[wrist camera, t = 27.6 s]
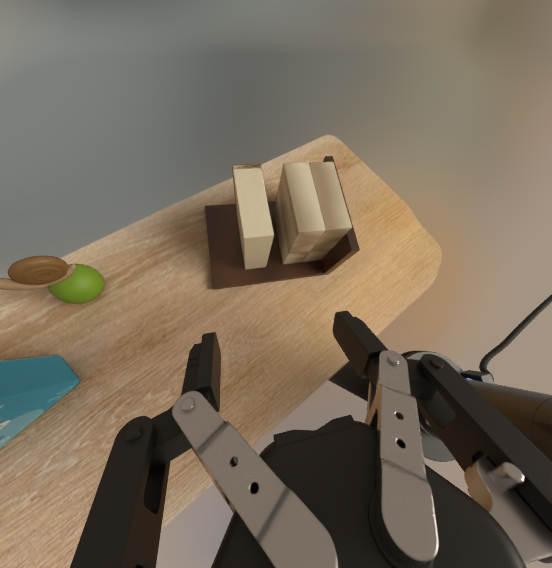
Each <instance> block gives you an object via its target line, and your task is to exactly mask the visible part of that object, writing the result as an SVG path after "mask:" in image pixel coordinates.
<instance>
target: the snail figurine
mask: <svg viewBox="0 0 552 568" xmlns="http://www.w3.org/2000/svg"><path fill="white" fill-rule="evenodd" d="M8 275H9V277H10V278H11V279H6V278H0V289H5V290H35V289H41V288H44V287H47V286H49V290H50V292H51V293H52V294H53V295H54V296H55V297H56V298H58V299H59V300H61V301H64V302H67V303H75V304H78V303H85V302H89V301H91V300H93V299H95V298H96V297H98V296H99V295H100V294H101V292H102V290H103V288H104V280H103V277H102V275H101V274H100V273H99V272H98V271H97V270H96V269H94V268H92V267H90V266H87V265H83V264H70V265H67V263H66V262H65V261H64V260H62V259H60V258H57V257H53V256H33V257H28V258H24V259H22V260H19V261H17V262H15V263H14V264H12V265H11V266H10V268H9V269H8Z"/></svg>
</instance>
